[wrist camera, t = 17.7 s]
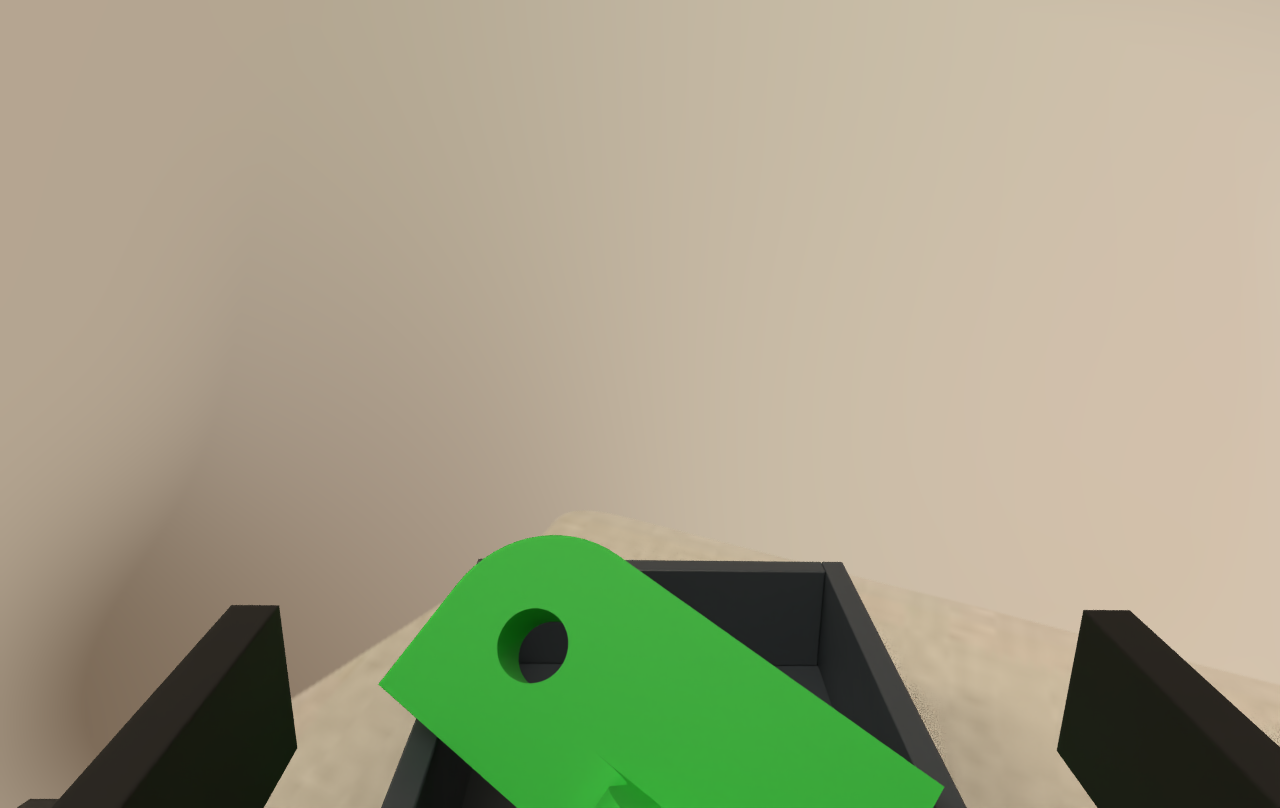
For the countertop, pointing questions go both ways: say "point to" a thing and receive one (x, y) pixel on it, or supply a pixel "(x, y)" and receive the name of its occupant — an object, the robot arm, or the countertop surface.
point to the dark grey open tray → (765, 623)
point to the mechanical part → (629, 698)
